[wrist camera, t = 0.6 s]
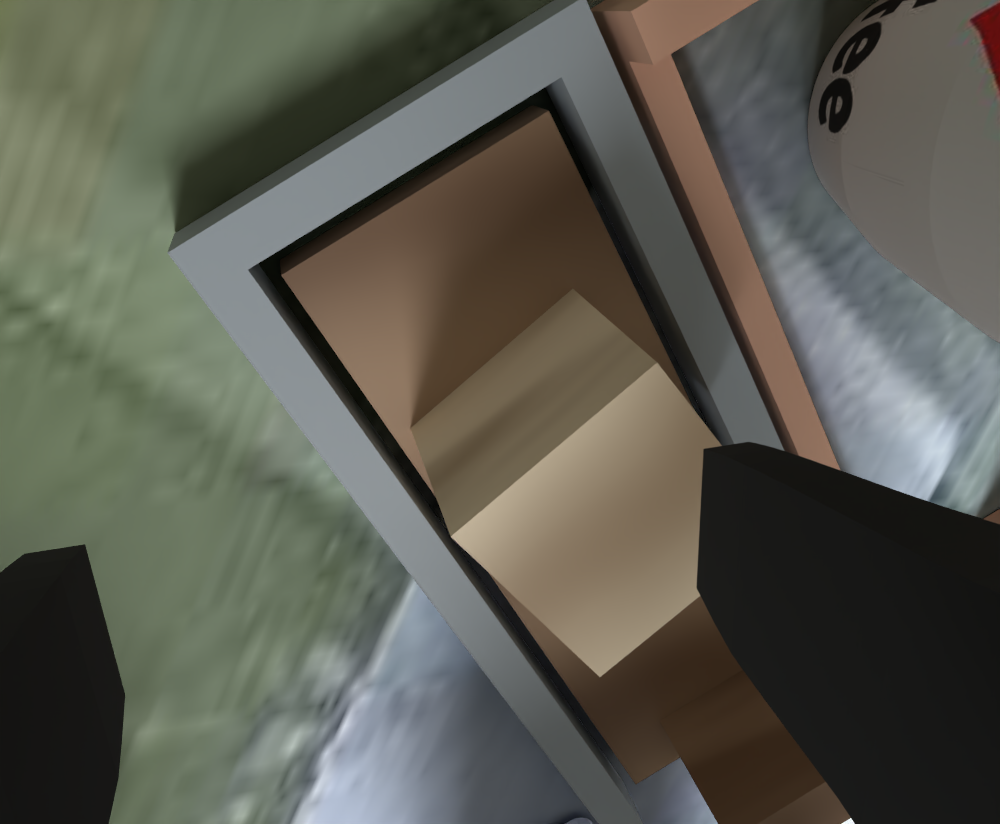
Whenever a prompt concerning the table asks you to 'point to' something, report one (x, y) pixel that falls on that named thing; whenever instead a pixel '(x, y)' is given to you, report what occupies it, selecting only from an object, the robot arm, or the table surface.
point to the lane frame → (337, 417)
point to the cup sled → (710, 200)
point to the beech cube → (574, 480)
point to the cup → (919, 144)
